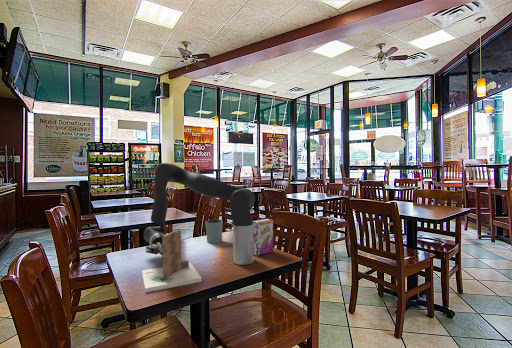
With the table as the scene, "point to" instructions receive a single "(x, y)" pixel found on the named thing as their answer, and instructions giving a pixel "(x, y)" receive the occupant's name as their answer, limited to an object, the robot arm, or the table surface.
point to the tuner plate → (169, 278)
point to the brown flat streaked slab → (172, 254)
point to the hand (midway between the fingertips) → (164, 253)
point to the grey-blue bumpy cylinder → (214, 231)
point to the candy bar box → (263, 236)
